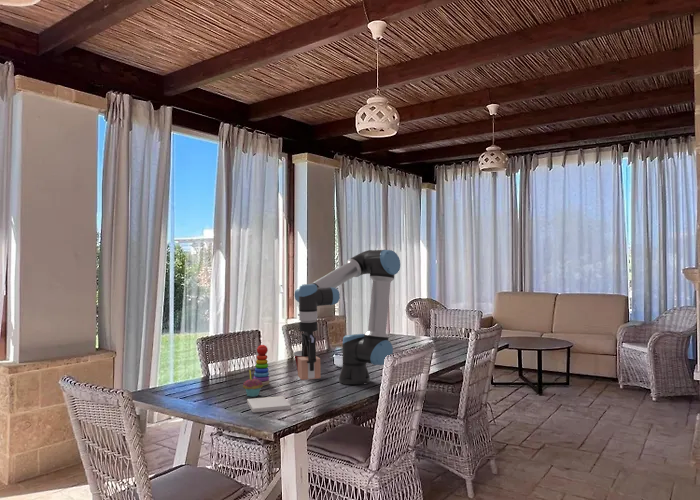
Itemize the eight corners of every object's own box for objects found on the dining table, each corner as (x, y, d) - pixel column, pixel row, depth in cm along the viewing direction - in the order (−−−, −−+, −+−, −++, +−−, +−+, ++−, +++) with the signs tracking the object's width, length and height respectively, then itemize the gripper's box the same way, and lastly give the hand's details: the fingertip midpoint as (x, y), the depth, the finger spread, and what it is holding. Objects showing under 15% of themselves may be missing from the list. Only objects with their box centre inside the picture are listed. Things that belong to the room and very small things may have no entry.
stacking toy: (266, 386, 244) (266, 346, 245) (250, 385, 246) (250, 346, 246) (272, 383, 252) (272, 344, 253) (256, 382, 254) (256, 343, 254)
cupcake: (253, 398, 223) (253, 370, 223) (238, 396, 227) (238, 368, 228) (266, 394, 230) (266, 367, 230) (252, 391, 235) (252, 365, 235)
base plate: (282, 399, 222) (282, 396, 222) (290, 409, 207) (290, 405, 207) (247, 402, 217) (247, 399, 217) (252, 412, 202) (252, 408, 202)
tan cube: (316, 374, 223) (315, 355, 223) (320, 378, 216) (320, 358, 216) (297, 376, 220) (297, 357, 220) (301, 379, 213) (301, 360, 213)
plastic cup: (289, 376, 266) (289, 353, 267) (299, 372, 276) (299, 349, 277) (308, 378, 262) (308, 354, 262) (317, 374, 272) (317, 351, 272)
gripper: (294, 319, 226) (294, 372, 226) (305, 324, 208) (306, 382, 207) (310, 318, 229) (311, 370, 229) (323, 323, 210) (324, 380, 210)
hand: (308, 376), depth 218 cm, fingers closed on tan cube, 7 cm apart
